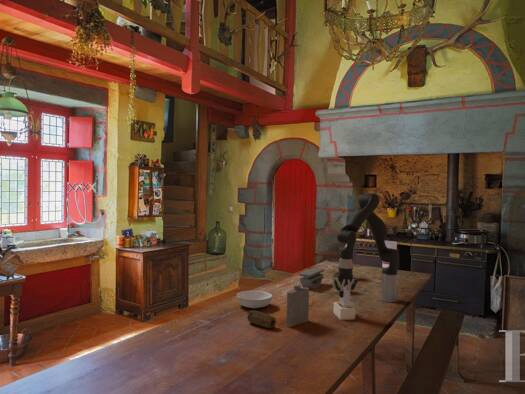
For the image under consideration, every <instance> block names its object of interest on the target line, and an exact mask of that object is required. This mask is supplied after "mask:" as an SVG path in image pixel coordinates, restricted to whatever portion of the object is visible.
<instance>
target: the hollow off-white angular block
mask: <svg viewBox="0 0 525 394" xmlns="http://www.w3.org/2000/svg"><path fill="white" fill-rule="evenodd" d="M332 312H333V314H334V315H335V316H336V317H337V318H338V319H339V320H340V321H343V320H356V312H357V311H356V307H354V306H353V305H352V304H351V303H350V308H342V307H341V306H340V305H339V301H333V311H332Z"/></svg>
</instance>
